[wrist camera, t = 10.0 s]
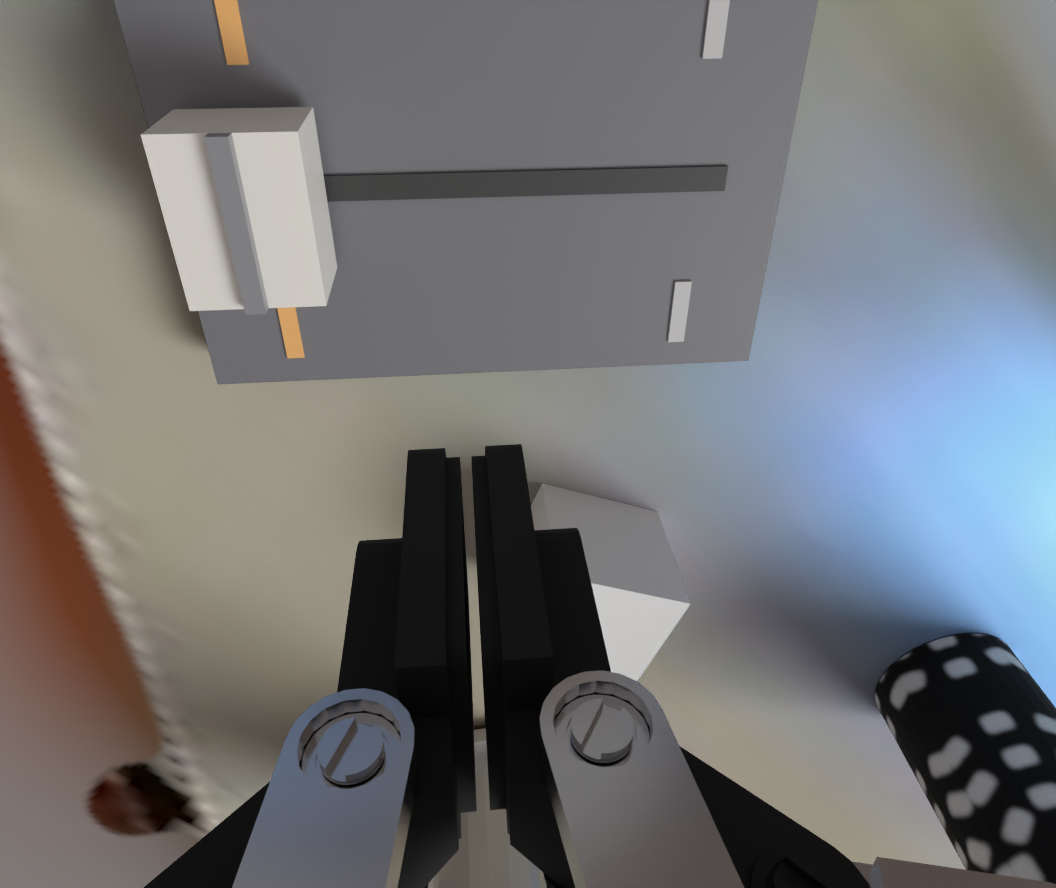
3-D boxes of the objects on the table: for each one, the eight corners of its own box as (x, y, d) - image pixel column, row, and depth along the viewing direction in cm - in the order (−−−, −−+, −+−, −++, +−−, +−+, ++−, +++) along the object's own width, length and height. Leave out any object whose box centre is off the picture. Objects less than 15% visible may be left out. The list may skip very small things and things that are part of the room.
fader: (337, 267, 25) (324, 311, 23) (214, 271, 25) (185, 317, 22) (313, 106, 23) (295, 135, 20) (173, 109, 22) (135, 138, 19)
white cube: (497, 572, 38) (505, 672, 33) (541, 481, 35) (557, 575, 30) (606, 595, 40) (629, 693, 35) (657, 510, 36) (691, 604, 32)
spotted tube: (879, 734, 49) (1096, 1143, 33) (868, 659, 44) (1114, 1093, 28) (1010, 697, 48) (1300, 1101, 32) (1013, 616, 43) (1355, 1041, 27)
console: (732, 336, 31) (749, 361, 29) (229, 357, 30) (216, 385, 28) (805, -79, 23) (834, -78, 21) (118, -80, 21) (90, -79, 20)
